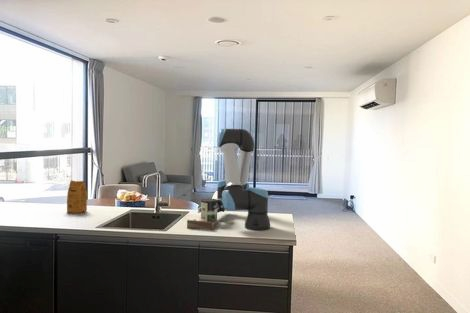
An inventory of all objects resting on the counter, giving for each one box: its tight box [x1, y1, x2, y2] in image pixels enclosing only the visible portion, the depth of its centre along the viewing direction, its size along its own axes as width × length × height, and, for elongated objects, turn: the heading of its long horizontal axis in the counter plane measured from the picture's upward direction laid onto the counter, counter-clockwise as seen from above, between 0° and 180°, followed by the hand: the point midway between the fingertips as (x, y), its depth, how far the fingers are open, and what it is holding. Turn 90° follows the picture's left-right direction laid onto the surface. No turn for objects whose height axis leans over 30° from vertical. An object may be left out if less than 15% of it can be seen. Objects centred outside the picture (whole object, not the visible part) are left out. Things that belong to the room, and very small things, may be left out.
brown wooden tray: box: [186, 219, 218, 231], centre depth 207 cm, size 10×15×4 cm
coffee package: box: [66, 180, 88, 214], centre depth 245 cm, size 10×12×22 cm
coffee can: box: [200, 198, 218, 222], centre depth 218 cm, size 10×10×14 cm
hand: (206, 211), depth 214 cm, fingers closed on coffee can, 10 cm apart
